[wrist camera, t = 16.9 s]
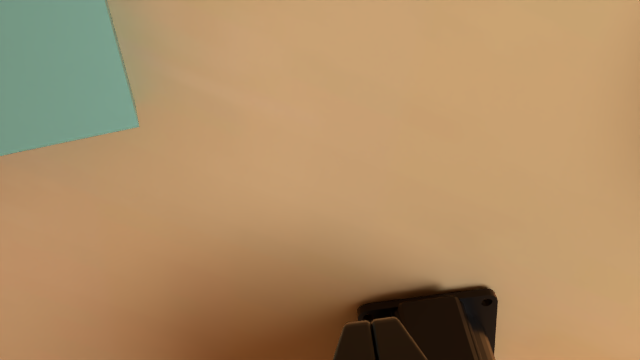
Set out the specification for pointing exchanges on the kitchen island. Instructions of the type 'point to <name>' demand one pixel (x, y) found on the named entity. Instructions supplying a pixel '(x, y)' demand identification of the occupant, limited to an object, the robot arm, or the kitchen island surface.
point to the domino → (60, 74)
